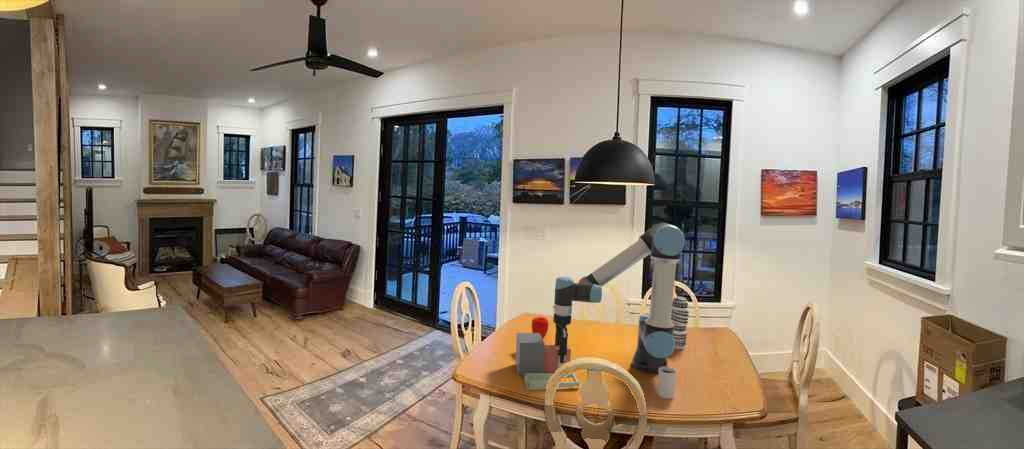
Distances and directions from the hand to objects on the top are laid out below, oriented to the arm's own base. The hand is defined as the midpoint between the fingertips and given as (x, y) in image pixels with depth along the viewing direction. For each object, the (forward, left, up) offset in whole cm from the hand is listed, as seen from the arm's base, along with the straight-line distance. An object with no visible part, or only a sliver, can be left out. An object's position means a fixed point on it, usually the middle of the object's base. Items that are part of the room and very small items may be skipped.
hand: (559, 366), depth 197 cm
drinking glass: (-37, +24, -2) cm, 44 cm away
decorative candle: (-67, -30, -2) cm, 73 cm away
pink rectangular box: (+4, 0, -1) cm, 4 cm away
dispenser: (+13, 0, -1) cm, 13 cm away
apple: (+2, -40, -2) cm, 40 cm away
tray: (+6, +14, -1) cm, 15 cm away
